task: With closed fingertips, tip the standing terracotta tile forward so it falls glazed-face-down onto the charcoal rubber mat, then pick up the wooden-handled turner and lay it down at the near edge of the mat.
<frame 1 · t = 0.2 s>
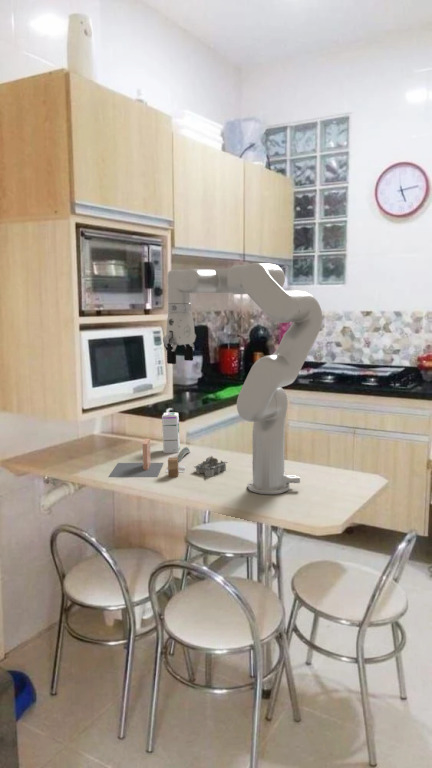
hand: (180, 362, 193), 36 cm above the table, tool pointing down, fingers open, 9 cm apart
egg carton: (211, 472, 196), on the table
tile: (147, 466, 201), resting on mat
turner: (173, 476, 191), on the table
syrup box: (171, 452, 222), on the table
mat: (136, 470, 198), on the table
ceramic fragment: (182, 459, 213), on the table
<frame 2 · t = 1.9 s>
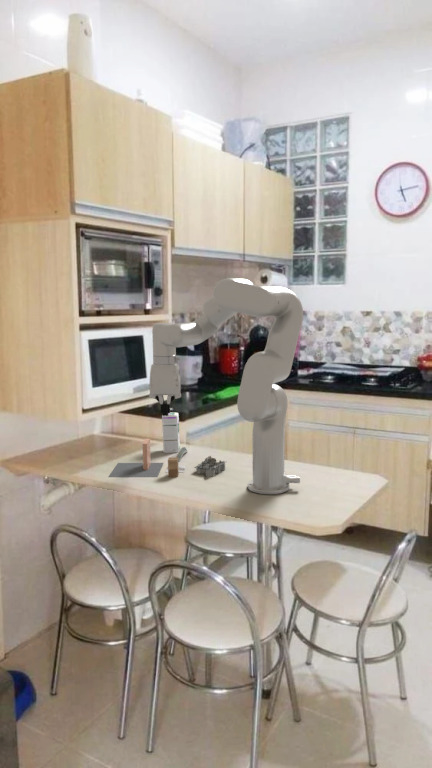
hand: (165, 415, 198), 18 cm above the table, tool pointing down, fingers closed
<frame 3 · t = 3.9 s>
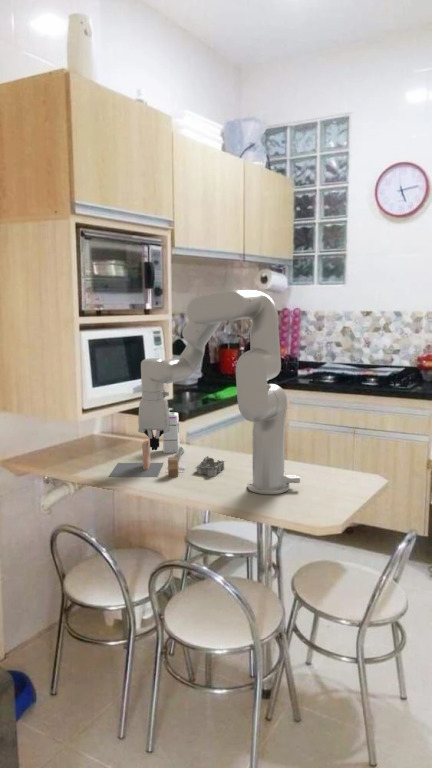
hand: (154, 449, 200), 7 cm above the table, tool pointing down, fingers closed
tile: (147, 466, 201), resting on mat, touching gripper
syrup box: (171, 452, 222), on the table, touching ceramic fragment
ceramic fragment: (178, 459, 213), on the table, touching syrup box
everything else where it was.
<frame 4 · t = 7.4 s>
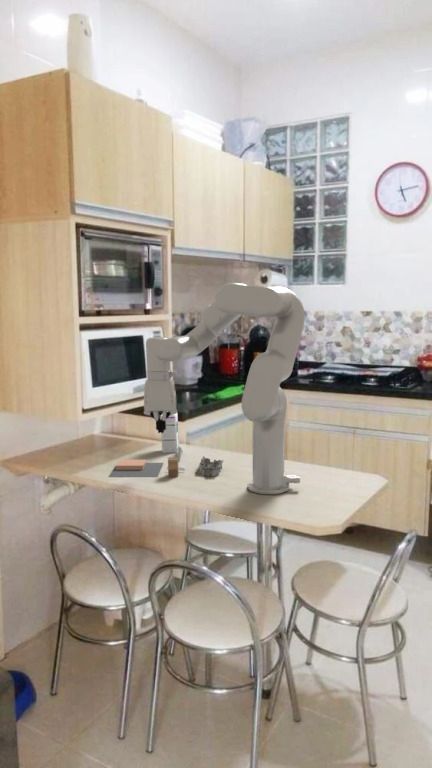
hand: (161, 431, 192), 14 cm above the table, tool pointing down, fingers closed
tile: (144, 464, 201), point 1 cm above the table, tilted 90°, touching mat
syrup box: (170, 451, 222), on the table
ceramic fragment: (178, 459, 213), on the table
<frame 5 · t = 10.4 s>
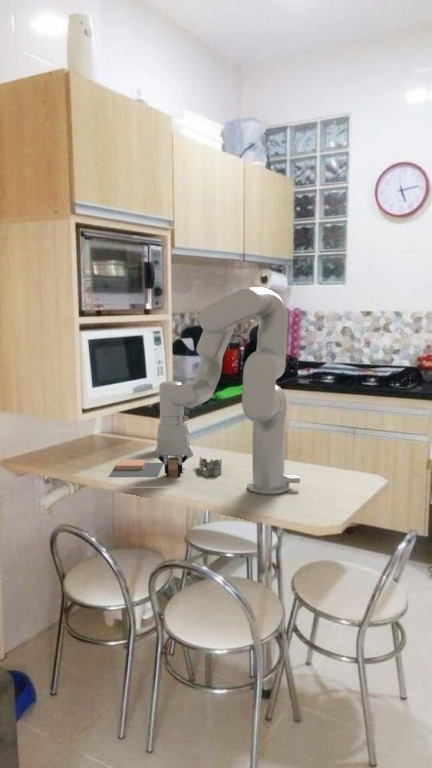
hand: (173, 475, 191), 0 cm above the table, tool pointing down, fingers closed on turner, 2 cm apart
turner: (173, 476, 191), on the table, touching gripper
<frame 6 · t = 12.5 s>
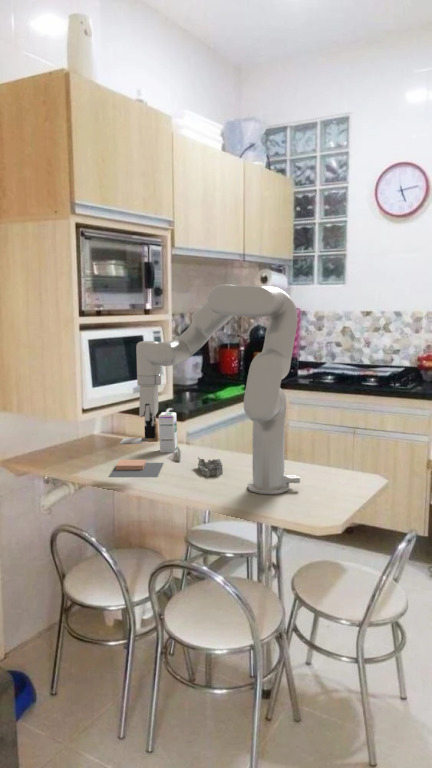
hand: (150, 436, 190), 13 cm above the table, tool pointing down, fingers closed on turner, 3 cm apart
turner: (153, 440, 191), point 12 cm above the table, touching gripper
when the fingers open (2 cm above the table, at t = 14.6 s): turner stays where it is, resting on mat.
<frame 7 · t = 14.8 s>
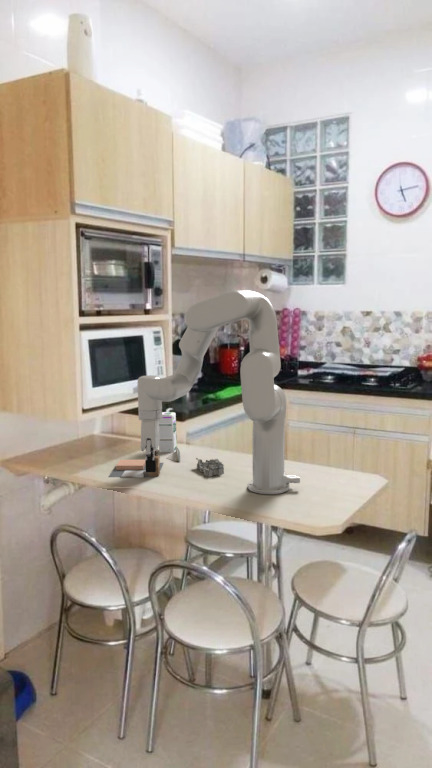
hand: (152, 468, 192), 2 cm above the table, tool pointing down, fingers open, 4 cm apart
turner: (154, 474, 192), resting on mat
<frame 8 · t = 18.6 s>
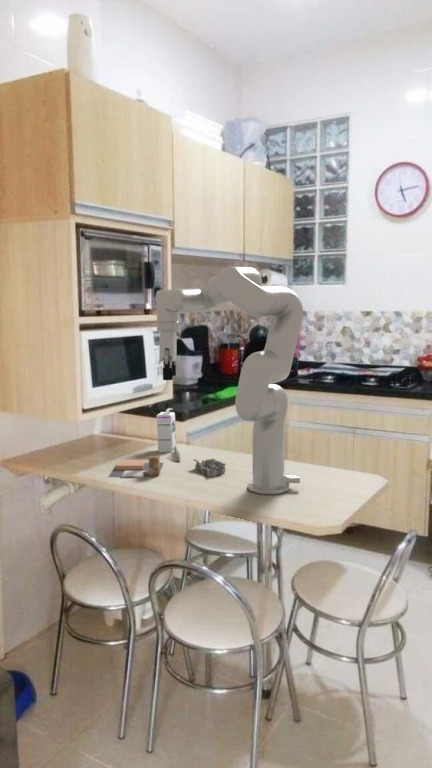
hand: (169, 377, 200), 30 cm above the table, tool pointing down, fingers open, 9 cm apart
at the end: tile tilted 90°; tile inside the target area on the mat (3.7 cm from its centre), point 1.2 cm above the mat's base; turner inside the target area (2.8 cm from its centre), resting on mat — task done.
